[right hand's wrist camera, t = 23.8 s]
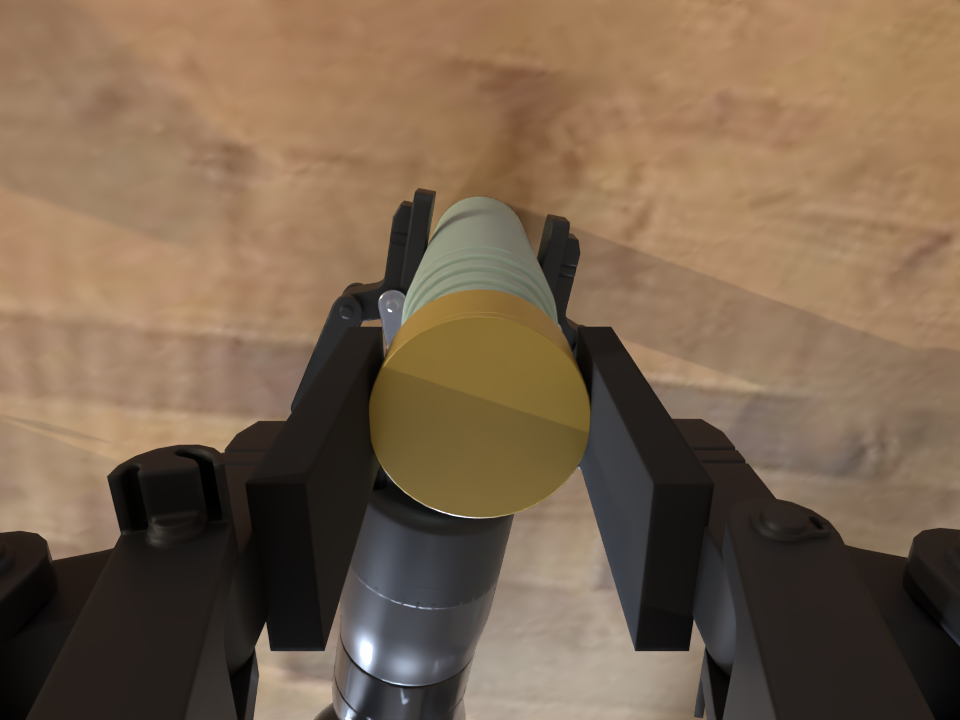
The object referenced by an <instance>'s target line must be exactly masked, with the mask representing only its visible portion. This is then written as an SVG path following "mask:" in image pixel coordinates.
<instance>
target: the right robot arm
mask: <svg viewBox="0 0 960 720" xmlns="http://www.w3.org/2000/svg"><path fill="white" fill-rule="evenodd" d="M383 360H384V350H383V333H382V327H348V328H347V330H346V331H345V333H344V334H343V336H342V337H341V339H340V340H339V342H338V343H337V345H336V346H335V348H334V350H333V351H332V353H331V354H330V356H329V357H328V359H327V360H326V362H325V363H324V365H323V366H322V368H321V369H320V371H319V372H318V374H317V375H316V377H315V378H314V380H313V381H312V383H311V384H310V386H309V387H308V389H307V391H306V392H305V394H304V395H303V397H302V398H301V400H300V401H299V403H298V404H297V406H296V407H295V409H294V410H293V412H292V413H291V415H290V416H289V418H288V419H287V421H258V422H256V423H255V424H253V425H251V426H250V427H248V428H246V429H245V430H243V431H241V432H240V433H238V434H237V435H236V436H235V437H234V439H233V440H232V441H231V442H230V444H229V445H228V446H227V447H226V449H225V453H222V454H221V453H220V452H219V451H217V450H216V449H214V448H211V447H207V446H202V445H175V446H170V447H164V448H158V449H155V450H152V451H149V452H146V453H143V454H140V455H137V456H135V457H133V458H131V459H129V460H127V461H126V462H124V463H122V464H120V465H118V466H117V467H116V468H115V469H114V470H113V471H112V472H111V473H110V474H109V475H108V476H107V478H108V482H109V486H110V490H111V495H112V499H113V503H114V507H115V511H116V515H117V519H118V523H119V527H120V532H121V535H120V537H119V539H118V541H117V543H116V545H115V547H114V548H112V549H108V550H104V551H100V552H95V553H90V554H85V555H80V556H74V557H69V558H64V559H59V560H54V561H52V557H51V554H50V550H49V547H48V544H47V541H46V540H45V539H44V538H42V537H41V536H40V535H39V534H37V533H30V532H24V531H15V532H5V533H0V720H253V717H254V709H255V702H256V694H257V686H258V679H259V672H258V664H257V658H256V652H255V645H256V643H257V641H258V638H259V636H260V634H261V631H262V629H263V627H264V624H265V622H266V623H267V630H268V636H269V643H270V649H271V651H325V647H326V644H327V640H328V637H329V634H330V630H331V627H332V624H333V620H334V617H335V614H336V610H337V607H338V603H339V600H340V597H341V593H342V590H343V587H344V583H345V580H346V576H347V573H348V570H349V566H350V563H351V560H352V556H353V553H354V549H355V546H356V543H357V539H358V536H359V533H360V529H361V526H362V522H363V519H364V516H365V512H366V509H367V506H368V502H369V499H370V495H371V492H372V489H373V485H374V482H375V479H376V475H377V472H378V468H379V465H380V462H379V460H378V458H377V456H376V454H375V452H374V449H373V446H372V443H371V433H370V419H369V399H370V394H371V391H372V388H373V384H374V382H375V379H376V377H377V375H378V372H379V370H380V367H381V365H382V363H383ZM576 362H577V364H578V367H579V369H580V372H581V374H582V377H583V379H584V381H585V384H586V387H587V390H588V394H589V397H590V404H591V412H590V428H589V440H588V443H587V447H586V450H585V452H584V454H583V456H582V459H581V461H580V466H581V470H582V473H583V477H584V480H585V483H586V487H587V490H588V493H589V497H590V500H591V504H592V507H593V510H594V514H595V517H596V520H597V524H598V527H599V531H600V534H601V537H602V541H603V544H604V547H605V551H606V554H607V558H608V561H609V564H610V568H611V571H612V574H613V578H614V581H615V585H616V588H617V591H618V595H619V598H620V601H621V605H622V608H623V612H624V615H625V618H626V622H627V625H628V628H629V632H630V635H631V639H632V642H633V645H634V649H635V651H689V647H690V640H691V634H692V627H693V621H694V620H695V622H696V625H697V627H698V629H699V631H700V634H701V636H702V638H703V641H704V643H705V645H706V646H705V652H704V658H703V664H702V670H701V676H700V682H699V688H698V694H697V700H696V707H695V714H694V717H698V718H703V714H704V708H706V716H707V720H960V530H956V529H946V528H936V529H930V530H924V531H922V532H920V533H919V534H918V535H917V536H915V537H914V538H913V542H912V545H911V549H910V552H909V555H908V558H906V557H900V556H895V555H890V554H885V553H880V552H874V551H869V550H864V549H859V548H855V547H851V546H847V545H845V544H844V542H843V540H842V538H841V536H840V534H839V533H838V532H837V530H836V529H835V528H834V527H833V526H832V524H831V523H830V522H829V521H828V520H826V519H825V518H823V517H822V516H820V515H819V514H817V513H816V512H814V511H812V510H810V509H808V508H805V507H803V506H800V505H798V504H795V503H793V502H788V501H784V500H779V499H776V498H775V497H774V495H773V494H772V493H771V492H770V490H769V489H768V488H767V487H766V485H765V484H764V483H763V482H762V480H761V479H760V478H759V477H758V475H757V474H756V473H755V472H754V470H753V469H752V468H751V467H750V465H749V464H746V463H745V459H744V458H743V457H742V455H741V454H740V453H739V452H738V450H735V447H734V445H733V444H732V443H731V442H730V440H729V439H728V438H727V437H726V435H725V434H724V433H723V432H722V431H720V430H719V429H717V428H715V427H714V426H712V425H710V424H709V423H707V422H705V421H704V420H702V419H671V417H670V415H669V414H668V412H667V411H666V409H665V408H664V406H663V405H662V403H661V402H660V400H659V399H658V397H657V396H656V394H655V393H654V391H653V390H652V388H651V387H650V385H649V384H648V382H647V381H646V379H645V378H644V376H643V374H642V373H641V371H640V370H639V368H638V367H637V365H636V364H635V362H634V361H633V359H632V358H631V356H630V355H629V353H628V352H627V350H626V349H625V347H624V346H623V344H622V343H621V341H620V340H619V338H618V336H617V335H616V333H615V332H614V330H613V329H612V327H577V343H576Z"/></svg>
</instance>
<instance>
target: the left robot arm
mask: <svg viewBox="0 0 960 720" xmlns="http://www.w3.org/2000/svg"><path fill="white" fill-rule="evenodd" d="M435 195H436V191H431V190H426V189H421V188H418V189H417V190H416V192H415V195H414V200H413V202H409V201H404V202H402V203H401V204H400V206H399V208H398V209H397V211H396V213H395V215H394V216H393V222H392V229H391V236H390V243H389V250H388V257H387V265H386V272H385V278H384V279H383V280H381V281H379V282H377V283H371V284H365V285H364V284H361V283H353V284H350V285H349V286H348V287H347V288H346V289H345V290H344V292H343V294H342V296H340V297H339V298H338V299H337V300H336V301H335V302H334V304H333V306H332V308H331V311H330V313H329V315H328V318H327V320H326V323H325V325H324V327H323V330H322V332H321V335H320V337H319V340H318V342H317V344H316V347H315V349H314V352H313V354H312V356H311V359H310V361H309V364H308V366H307V369H306V371H305V373H304V376H303V378H302V381H301V383H300V386H299V388H298V390H297V393H296V395H295V398H294V400H293V402H292V405H291V412H293V410H294V409H295V407H296V406H297V404H298V403H299V401H300V400H301V398H302V397H303V395H304V394H305V392H306V391H307V389H308V387H309V386H310V384H311V383H312V381H313V380H314V378H315V377H316V375H317V374H318V372H319V371H320V369H321V368H322V366H323V365H324V363H325V362H326V360H327V359H328V357H329V356H330V354H331V353H332V351H333V350H334V348H335V346H336V345H337V343H338V342H339V340H340V339H341V337H342V336H343V334H344V333H345V331H346V330H347V328H348V327H360V326H361V324H362V322H363V321H369V320H376V319H381V322H382V327H383V332H384V336H385V341H386V353H387V351H388V348H389V346H390V344H391V342H392V340H393V338H394V336H395V335H396V333H397V332H398V330H399V329H400V327H401V322H402V315H403V307H404V302H405V299H406V296H407V293H408V290H409V288H410V286H411V283H412V281H413V279H414V277H415V274H416V272H417V270H418V268H419V265H420V263H421V261H422V259H423V256H424V254H425V252H426V249H427V246H428V240H429V234H430V227H431V221H432V215H433V209H434V202H435ZM569 227H570V223H569V221H568V220H567V219H566V218H565V217H560V216H555V215H550V214H548V216H547V218H546V222H545V226H544V230H543V235H542V239H541V244H540V248H539V252H538V257H537V260H538V262H539V265H540V267H541V269H542V272H543V274H544V276H545V278H546V281H547V283H548V285H549V287H550V290H551V292H552V295H553V297H554V301H555V305H556V311H557V319H558V327H559V328H560V330H561V331H562V333H563V334H564V336H565V337H566V339H567V341H568V343H569V346H570V348H571V350H572V352H573V355H574V357H575V360H576V343H577V327H585V326H583V325H578V324H576V323H575V322H573V321H571V320H570V319H568V318H567V317H566V308H567V304H568V300H569V296H570V292H571V288H572V284H573V280H574V276H575V272H576V267H577V264H578V260H579V256H580V248H579V241H578V239H577V238H576V237H575V236H574V234H570V233H569ZM577 467H578V468H579V469H581V466H580V463H579V464H578V466H577ZM513 517H514V513H513V514H510V515H506V516H500V517H494V518H466V517H460V516H454V515H450V514H446V513H443V512H439V511H437V510H434V509H432V508H430V507H427V506H425V505H424V504H422V503H420V502H418V501H416V500H415V499H413V498H412V497H411V496H409V495H408V494H406V493H405V492H404V491H403V490H402V489H401V488H400V487H398V486H397V485H396V484H395V483H394V482H393V480H392V479H391V478H390V477H389V476H388V474H387V473H386V472H385V470H384V469H383V467H382V465H381V464H380V465H379V468H378V472H377V475H376V479H375V482H374V485H373V489H372V492H371V495H370V499H369V502H368V506H367V509H366V512H365V516H364V519H363V522H362V526H361V529H360V533H359V536H358V539H357V543H356V546H355V549H354V553H353V556H352V560H351V563H350V566H349V570H348V573H347V576H346V580H345V583H344V587H343V590H342V593H341V597H340V608H341V624H340V631H339V637H338V644H337V651H336V658H335V666H334V674H333V683H332V697H333V703H331V704H330V705H328V706H327V707H326V708H325V709H323V710H322V711H321V712H320V713H319V714H318V715H317V716H316V718H315V719H314V720H466V715H465V707H464V700H463V697H464V693H465V689H466V685H467V681H468V677H469V673H470V669H471V665H472V661H473V657H474V653H475V649H476V645H477V642H478V640H479V638H480V636H481V634H482V631H483V629H484V627H485V624H486V621H487V619H488V616H489V612H490V609H491V605H492V601H493V597H494V593H495V589H496V585H497V581H498V577H499V573H500V569H501V565H502V561H503V557H504V553H505V549H506V545H507V541H508V537H509V533H510V529H511V525H512V521H513Z"/></svg>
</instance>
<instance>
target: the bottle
mask: <svg viewBox="0 0 960 720" xmlns="http://www.w3.org/2000/svg"><path fill="white" fill-rule="evenodd" d="M478 289H481V290H494V291H500V292H505V293H508V294H511V295H514V296H517V297H520V298H522V299H524V300H526V301H528V302H530V303H532V304H533V305H535V306H536V307H538V308H539V309H541V310H542V311H543V312H544V313H546V314H547V315H548V316H549V317H550V318H551V319H552V320H553V321H554V322H555V323H556V325H557V326H558V319H557V311H556V305H555V301H554V297H553V295H552V292H551V290H550V287H549V285H548V283H547V281H546V278H545V276H544V274H543V272H542V269H541V267H540V265H539V262H538V260H537V258H536V256H535V253H534V251H533V249H532V246H531V244H530V242H529V240H528V237H527V235H526V233H525V230H524V228H523V226H522V224H521V221H520V220H519V218H518V216H517V215H516V214H515V212H514V211H513V210H512V209H511V208H510V207H508V206H507V205H506V204H504V203H503V202H501V201H499V200H496V199H494V198H490V197H483V196H476V197H469V198H466V199H463V200H461V201H459V202H457V203H455V204H454V205H452V206H451V207H450V208H449V209H448V210H447V211H446V212H445V213H444V214H443V216H442V217H441V219H440V220H439V222H438V224H437V227H436V229H435V231H434V234H433V236H432V238H431V240H430V243H429V245H428V247H427V249H426V252H425V254H424V256H423V259H422V261H421V263H420V265H419V268H418V270H417V272H416V274H415V277H414V279H413V281H412V283H411V286H410V288H409V290H408V293H407V296H406V299H405V302H404V307H403V315H402V322H401V326H402V325H403V324H404V323H405V321H406V320H407V319H408V318H409V317H410V316H411V315H413V314H414V313H415V312H416V311H417V310H418V309H420V308H421V307H423V306H425V305H426V304H428V303H429V302H431V301H433V300H435V299H437V298H439V297H442V296H445V295H448V294H451V293H455V292H460V291H465V290H478Z"/></svg>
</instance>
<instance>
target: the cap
mask: <svg viewBox="0 0 960 720" xmlns="http://www.w3.org/2000/svg"><path fill="white" fill-rule="evenodd" d="M590 412H591V404H590V397H589V394H588V390H587V387H586V384H585V381H584V379H583V377H582V374H581V372H580V369H579V367H578V364H577V362H576V360H575V357H574V355H573V352H572V350H571V348H570V346H569V343H568V341H567V339H566V337H565V336H564V334H563V333H562V331H561V330H560V328H559V327H558V326H557V325H556V323H555V322H554V321H553V320H552V319H551V318H550V317H549V316H548V315H547V314H546V313H544V312H543V311H542V310H541V309H539V308H538V307H536V306H535V305H533V304H532V303H530V302H528V301H526V300H524V299H522V298H520V297H517V296H514V295H511V294H508V293H505V292H500V291H494V290H481V289H478V290H465V291H460V292H455V293H451V294H448V295H445V296H442V297H439V298H437V299H435V300H433V301H431V302H429V303H428V304H426V305H425V306H423V307H421V308H420V309H418V310H417V311H416V312H415V313H414V314H413V315H411V316H410V317H409V318H408V319H407V320H406V321H405V323H404V324H403V325H402V326H401V327H400V329H399V330H398V332H397V333H396V335H395V336H394V338H393V340H392V342H391V344H390V346H389V348H388V351H387V353H386V355H385V358H384V360H383V363H382V365H381V367H380V370H379V372H378V375H377V377H376V379H375V382H374V384H373V388H372V391H371V394H370V399H369V419H370V433H371V443H372V446H373V449H374V452H375V454H376V456H377V458H378V460H379V462H380V464H381V465H382V467H383V469H384V470H385V472H386V473H387V474H388V476H389V477H390V478H391V479H392V480H393V482H394V483H395V484H396V485H397V486H398V487H400V488H401V489H402V490H403V491H404V492H405V493H406V494H408V495H409V496H411V497H412V498H413V499H415V500H416V501H418V502H420V503H422V504H424V505H425V506H427V507H430V508H432V509H434V510H437V511H439V512H443V513H446V514H450V515H454V516H460V517H466V518H494V517H500V516H506V515H510V514H513V513H517V512H520V511H522V510H525V509H527V508H530V507H532V506H534V505H536V504H538V503H539V502H541V501H543V500H545V499H546V498H547V497H549V496H550V495H551V494H553V493H554V492H555V491H557V490H558V489H559V488H560V487H561V486H562V485H563V484H564V483H565V482H566V481H567V479H568V478H569V477H570V476H571V475H572V473H573V472H574V471H575V469H576V467H577V466H578V464H579V463H580V461H581V459H582V456H583V454H584V452H585V450H586V447H587V443H588V440H589V428H590Z"/></svg>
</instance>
